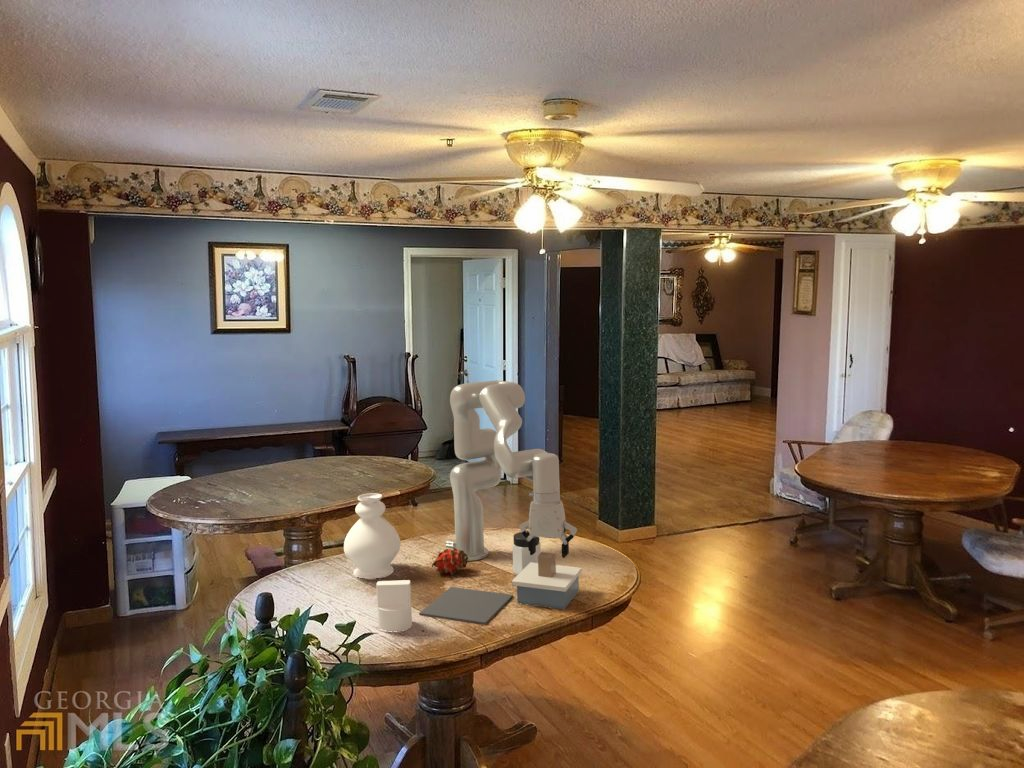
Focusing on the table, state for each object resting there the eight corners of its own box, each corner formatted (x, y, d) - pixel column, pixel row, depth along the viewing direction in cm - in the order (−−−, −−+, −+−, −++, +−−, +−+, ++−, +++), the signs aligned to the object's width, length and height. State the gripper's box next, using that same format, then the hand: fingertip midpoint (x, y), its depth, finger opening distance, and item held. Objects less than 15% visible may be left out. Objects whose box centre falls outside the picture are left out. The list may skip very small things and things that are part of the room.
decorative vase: (407, 577, 248) (404, 499, 244) (350, 586, 241) (346, 506, 238) (394, 559, 264) (391, 486, 261) (340, 567, 258) (336, 493, 254)
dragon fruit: (472, 575, 252) (436, 586, 248) (463, 553, 258) (428, 564, 254) (472, 560, 246) (435, 571, 242) (464, 538, 252) (427, 548, 248)
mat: (419, 615, 218) (419, 612, 218) (451, 588, 237) (450, 586, 237) (485, 624, 211) (485, 622, 211) (512, 596, 230) (512, 594, 229)
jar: (546, 572, 248) (545, 535, 247) (526, 579, 243) (525, 541, 242) (527, 565, 255) (527, 529, 254) (508, 571, 250) (507, 534, 248)
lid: (511, 585, 223) (510, 560, 223) (530, 566, 238) (530, 543, 237) (565, 591, 218) (565, 566, 217) (581, 571, 232) (581, 548, 232)
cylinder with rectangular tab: (413, 617, 217) (411, 575, 215) (410, 632, 208) (408, 588, 206) (380, 619, 217) (378, 577, 215) (376, 633, 208) (374, 589, 206)
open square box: (517, 604, 225) (516, 584, 224) (534, 586, 238) (533, 567, 237) (564, 610, 220) (563, 590, 219) (578, 592, 233) (578, 572, 232)
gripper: (513, 498, 225) (516, 556, 226) (571, 502, 218) (573, 561, 220) (523, 492, 231) (525, 548, 233) (579, 495, 225) (581, 553, 227)
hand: (548, 555), depth 227 cm, fingers open, 9 cm apart
